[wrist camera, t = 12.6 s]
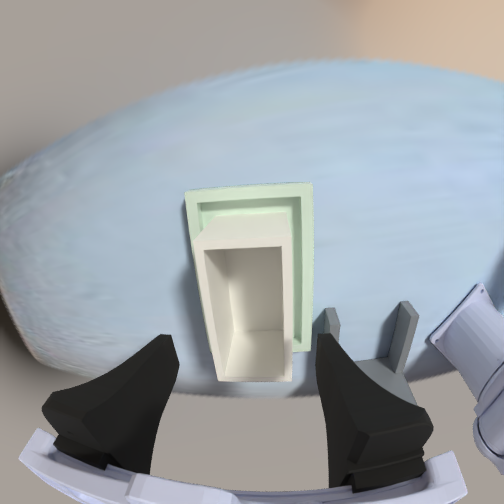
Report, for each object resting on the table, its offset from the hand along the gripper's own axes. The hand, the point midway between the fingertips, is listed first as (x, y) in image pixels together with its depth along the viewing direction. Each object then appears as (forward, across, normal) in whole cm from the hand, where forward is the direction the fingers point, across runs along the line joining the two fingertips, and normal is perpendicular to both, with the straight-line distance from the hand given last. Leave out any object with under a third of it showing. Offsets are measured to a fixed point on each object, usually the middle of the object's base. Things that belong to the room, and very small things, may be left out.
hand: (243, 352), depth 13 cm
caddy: (+9, 0, 0) cm, 9 cm away
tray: (+9, 0, 0) cm, 9 cm away
